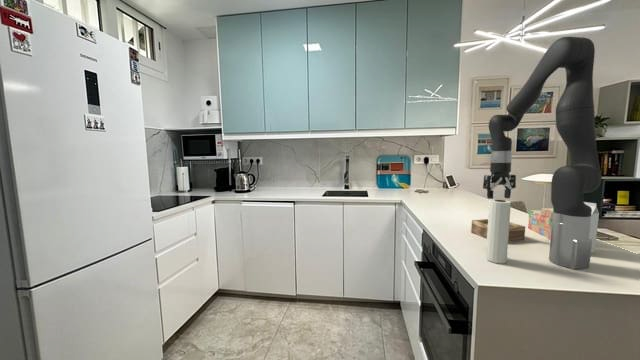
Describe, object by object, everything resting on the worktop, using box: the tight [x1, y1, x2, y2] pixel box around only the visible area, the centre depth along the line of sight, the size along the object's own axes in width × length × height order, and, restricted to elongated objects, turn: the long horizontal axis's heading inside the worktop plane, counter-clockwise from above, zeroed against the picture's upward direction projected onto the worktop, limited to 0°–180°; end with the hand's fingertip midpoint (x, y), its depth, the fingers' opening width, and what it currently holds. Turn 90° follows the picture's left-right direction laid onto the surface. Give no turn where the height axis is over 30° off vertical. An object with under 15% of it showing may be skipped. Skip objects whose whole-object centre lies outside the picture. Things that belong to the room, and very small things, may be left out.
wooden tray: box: [470, 218, 526, 243], centre depth 118 cm, size 14×14×6 cm
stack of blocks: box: [527, 207, 553, 240], centre depth 118 cm, size 21×6×12 cm, turn 169°
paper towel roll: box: [485, 198, 512, 264], centre depth 92 cm, size 7×6×21 cm
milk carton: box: [583, 201, 600, 254], centre depth 99 cm, size 7×7×19 cm
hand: (498, 198), depth 116 cm, fingers open, 8 cm apart
